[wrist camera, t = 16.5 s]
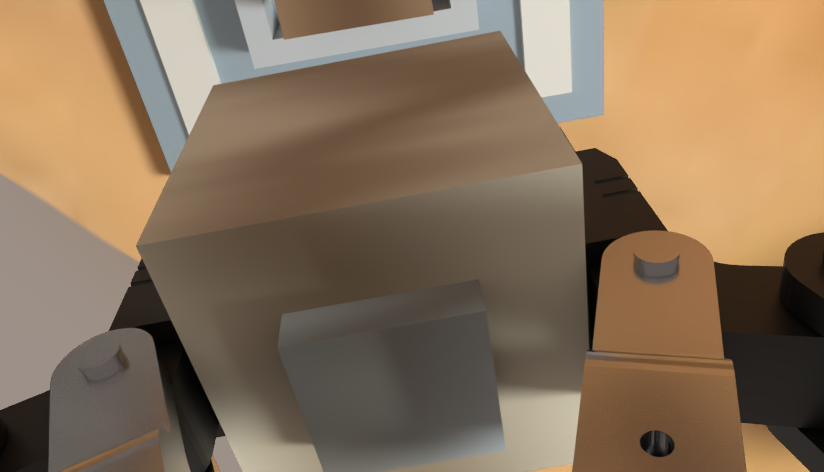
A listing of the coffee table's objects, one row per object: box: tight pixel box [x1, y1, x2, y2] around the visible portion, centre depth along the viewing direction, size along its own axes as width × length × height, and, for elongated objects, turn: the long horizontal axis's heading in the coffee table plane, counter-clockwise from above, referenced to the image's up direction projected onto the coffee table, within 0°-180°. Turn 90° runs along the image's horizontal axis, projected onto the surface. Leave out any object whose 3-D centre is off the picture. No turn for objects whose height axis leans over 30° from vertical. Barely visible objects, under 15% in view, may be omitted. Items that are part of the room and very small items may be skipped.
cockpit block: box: [136, 31, 589, 472], centre depth 11 cm, size 5×5×6 cm
